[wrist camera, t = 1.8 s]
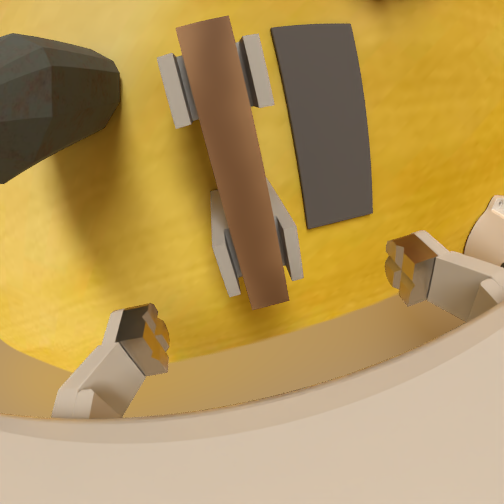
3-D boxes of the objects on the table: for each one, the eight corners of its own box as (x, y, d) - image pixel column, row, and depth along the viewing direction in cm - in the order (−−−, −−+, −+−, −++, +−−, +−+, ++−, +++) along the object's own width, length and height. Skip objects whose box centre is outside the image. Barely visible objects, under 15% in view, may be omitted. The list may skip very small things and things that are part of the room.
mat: (348, 24, 24) (350, 23, 23) (370, 211, 36) (372, 213, 36) (270, 28, 24) (271, 27, 23) (307, 226, 36) (308, 229, 36)
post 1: (239, 55, 25) (258, 33, 14) (249, 99, 28) (274, 104, 17) (177, 70, 25) (156, 57, 14) (188, 114, 27) (176, 128, 17)
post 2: (266, 177, 32) (296, 226, 22) (274, 216, 35) (303, 277, 24) (210, 191, 32) (212, 247, 22) (221, 229, 35) (229, 297, 24)
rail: (225, 25, 16) (228, 15, 13) (281, 279, 27) (289, 300, 25) (180, 36, 16) (175, 28, 13) (248, 288, 27) (252, 310, 25)
